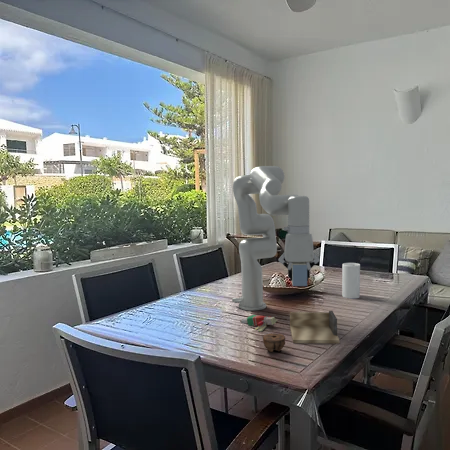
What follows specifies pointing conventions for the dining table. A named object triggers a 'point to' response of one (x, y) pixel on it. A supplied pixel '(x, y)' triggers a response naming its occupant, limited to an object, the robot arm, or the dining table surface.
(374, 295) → the dining table surface
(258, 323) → the toy
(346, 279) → the cup
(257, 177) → the robot arm
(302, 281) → the book
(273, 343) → the artifact
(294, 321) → the tan shallow square box
